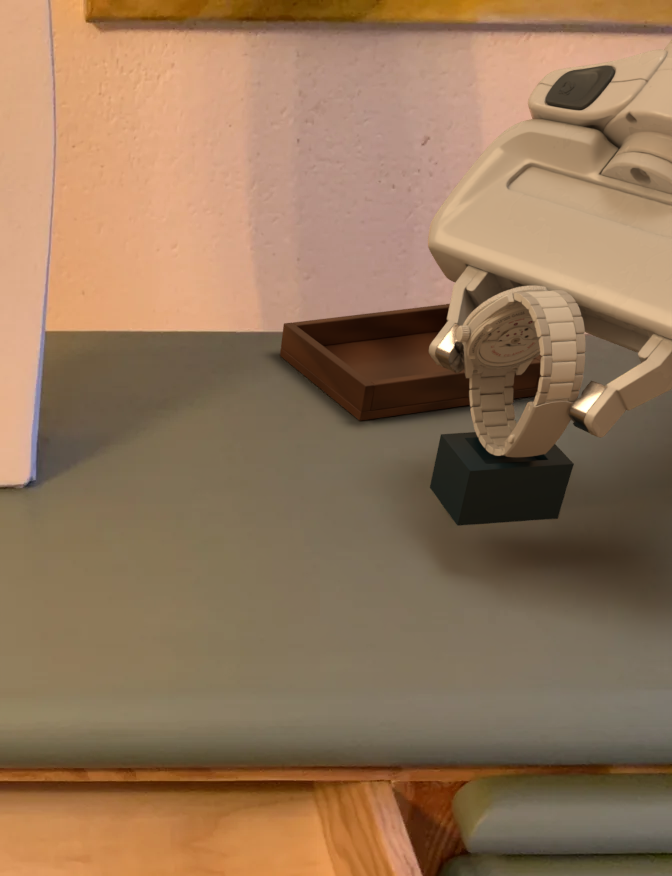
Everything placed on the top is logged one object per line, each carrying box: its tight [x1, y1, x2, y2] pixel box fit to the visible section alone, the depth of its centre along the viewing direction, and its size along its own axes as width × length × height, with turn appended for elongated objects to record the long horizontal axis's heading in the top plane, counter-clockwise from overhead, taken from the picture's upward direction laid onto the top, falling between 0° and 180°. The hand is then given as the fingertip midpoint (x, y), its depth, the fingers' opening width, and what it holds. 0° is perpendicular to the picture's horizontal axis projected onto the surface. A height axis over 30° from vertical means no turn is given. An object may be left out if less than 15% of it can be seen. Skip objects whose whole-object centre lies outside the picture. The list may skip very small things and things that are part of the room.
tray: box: [279, 303, 544, 422], centre depth 83 cm, size 14×12×2 cm
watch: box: [429, 285, 586, 527], centre depth 59 cm, size 6×8×11 cm
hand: (508, 393), depth 58 cm, fingers closed on watch, 8 cm apart
